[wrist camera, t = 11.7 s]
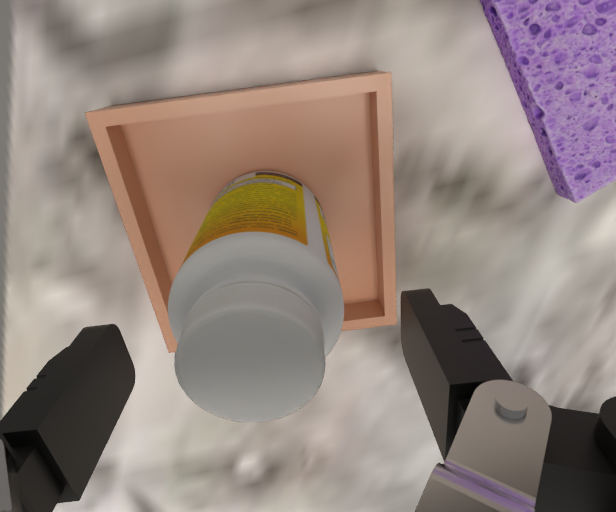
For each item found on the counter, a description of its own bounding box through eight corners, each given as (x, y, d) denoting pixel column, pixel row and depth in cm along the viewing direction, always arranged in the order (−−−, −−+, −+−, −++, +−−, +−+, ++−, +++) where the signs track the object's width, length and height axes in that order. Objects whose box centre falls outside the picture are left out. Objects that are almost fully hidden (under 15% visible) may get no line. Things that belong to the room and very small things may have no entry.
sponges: (551, 193, 21) (574, 205, 20) (451, -48, 16) (469, -61, 15) (687, 113, 20) (724, 119, 18) (620, -179, 15) (663, -209, 13)
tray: (378, 70, 18) (391, 72, 15) (385, 298, 23) (396, 324, 21) (110, 105, 18) (84, 112, 15) (180, 324, 23) (169, 352, 21)
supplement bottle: (186, 217, 19) (92, 363, 10) (273, 142, 18) (256, 231, 9) (264, 292, 21) (245, 470, 12) (347, 230, 20) (397, 377, 11)
